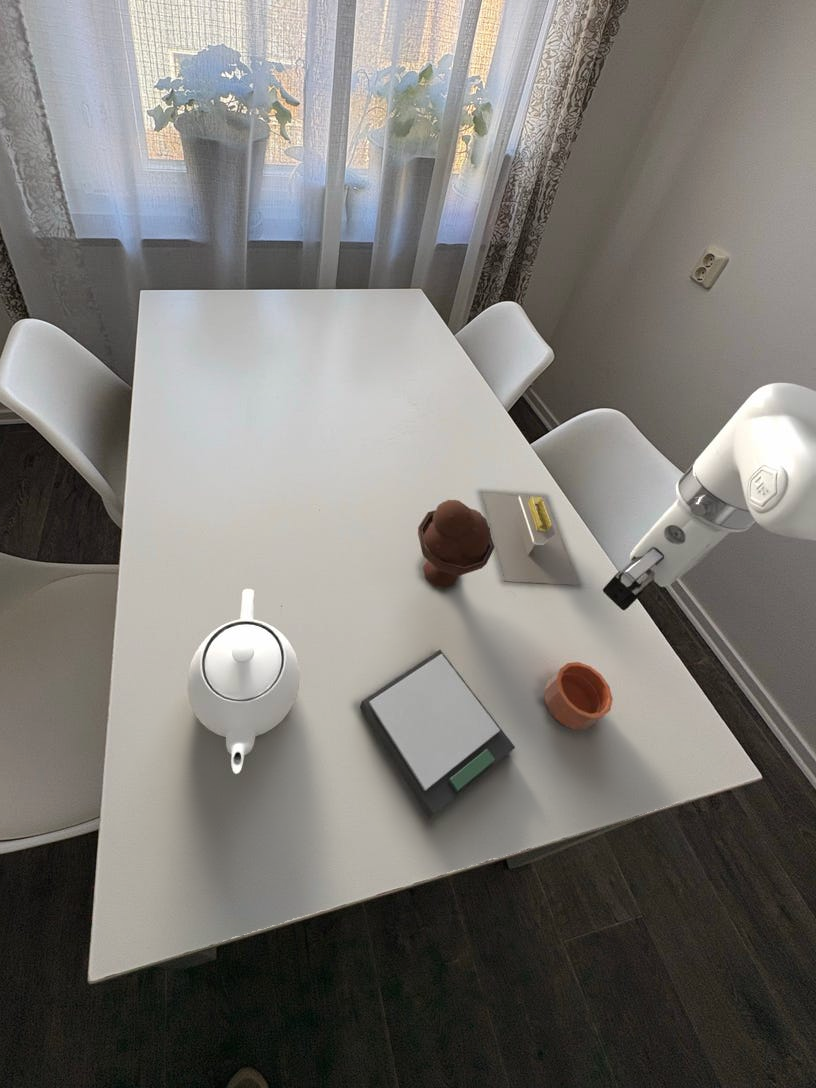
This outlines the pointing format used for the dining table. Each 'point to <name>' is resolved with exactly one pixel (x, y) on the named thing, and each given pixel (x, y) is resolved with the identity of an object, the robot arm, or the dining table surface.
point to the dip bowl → (578, 696)
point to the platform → (528, 540)
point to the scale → (435, 731)
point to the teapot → (243, 680)
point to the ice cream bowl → (453, 542)
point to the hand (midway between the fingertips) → (637, 582)
